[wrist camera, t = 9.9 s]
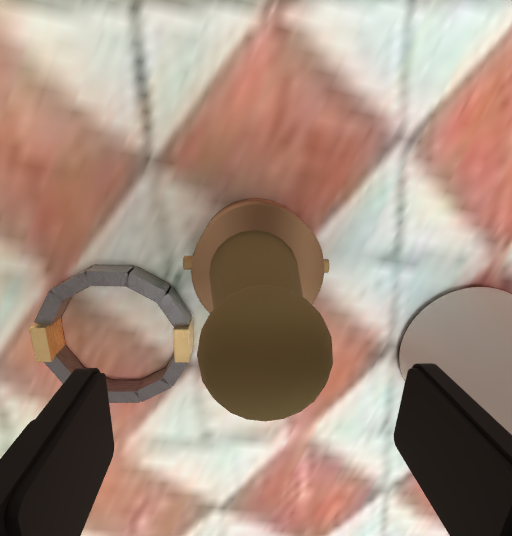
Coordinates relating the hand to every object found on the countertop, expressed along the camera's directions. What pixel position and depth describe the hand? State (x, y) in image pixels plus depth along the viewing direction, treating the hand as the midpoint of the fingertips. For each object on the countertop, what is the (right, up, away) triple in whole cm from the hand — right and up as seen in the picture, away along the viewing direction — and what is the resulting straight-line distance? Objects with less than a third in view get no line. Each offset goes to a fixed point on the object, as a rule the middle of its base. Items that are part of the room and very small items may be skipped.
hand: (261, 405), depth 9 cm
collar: (-12, -1, +18) cm, 21 cm away
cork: (0, +4, +12) cm, 12 cm away
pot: (0, +5, +16) cm, 17 cm away
